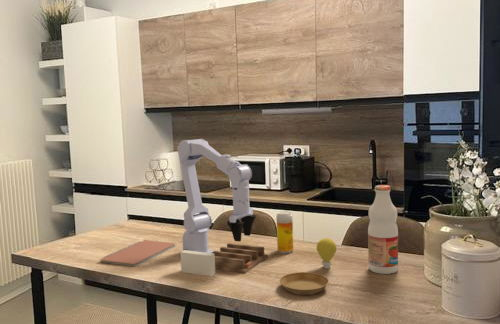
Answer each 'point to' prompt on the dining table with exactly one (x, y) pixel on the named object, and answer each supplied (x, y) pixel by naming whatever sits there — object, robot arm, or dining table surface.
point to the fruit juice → (383, 233)
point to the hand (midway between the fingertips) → (242, 238)
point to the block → (197, 262)
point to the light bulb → (326, 251)
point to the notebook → (137, 253)
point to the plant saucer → (304, 283)
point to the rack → (238, 257)
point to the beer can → (284, 232)
